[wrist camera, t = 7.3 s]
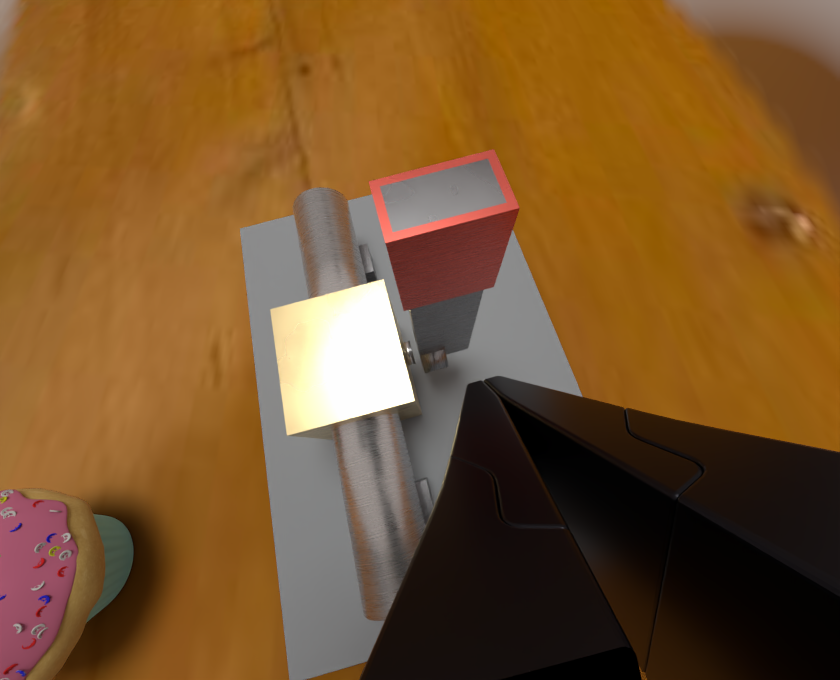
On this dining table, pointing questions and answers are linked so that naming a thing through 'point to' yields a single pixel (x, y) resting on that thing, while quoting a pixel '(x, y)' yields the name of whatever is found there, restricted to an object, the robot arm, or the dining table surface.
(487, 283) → the valve lever
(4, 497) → the cupcake
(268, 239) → the mounting board
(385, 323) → the ball valve
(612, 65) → the dining table surface
